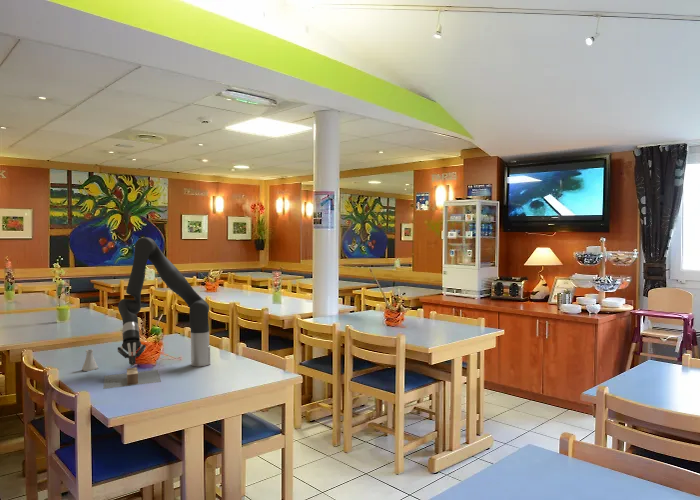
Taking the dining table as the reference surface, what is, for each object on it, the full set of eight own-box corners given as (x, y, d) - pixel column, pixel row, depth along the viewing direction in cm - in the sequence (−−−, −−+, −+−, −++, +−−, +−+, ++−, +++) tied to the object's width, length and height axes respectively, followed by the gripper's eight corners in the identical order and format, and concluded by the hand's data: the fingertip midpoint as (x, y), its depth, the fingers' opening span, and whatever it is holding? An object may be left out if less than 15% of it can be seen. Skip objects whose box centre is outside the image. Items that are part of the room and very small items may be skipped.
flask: (91, 372, 254) (90, 352, 253) (78, 371, 255) (78, 351, 255) (101, 368, 261) (100, 348, 260) (88, 367, 262) (88, 348, 262)
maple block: (137, 367, 244) (137, 373, 233) (137, 376, 244) (138, 383, 233) (126, 368, 242) (127, 375, 231) (127, 377, 242) (127, 384, 231)
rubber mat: (157, 370, 255) (157, 369, 255) (161, 382, 235) (161, 381, 235) (104, 376, 245) (104, 375, 245) (103, 389, 225) (103, 388, 225)
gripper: (115, 330, 244) (116, 361, 233) (145, 327, 249) (147, 358, 239) (116, 339, 249) (117, 370, 238) (145, 336, 255) (147, 366, 244)
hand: (132, 364), depth 239 cm, fingers closed
